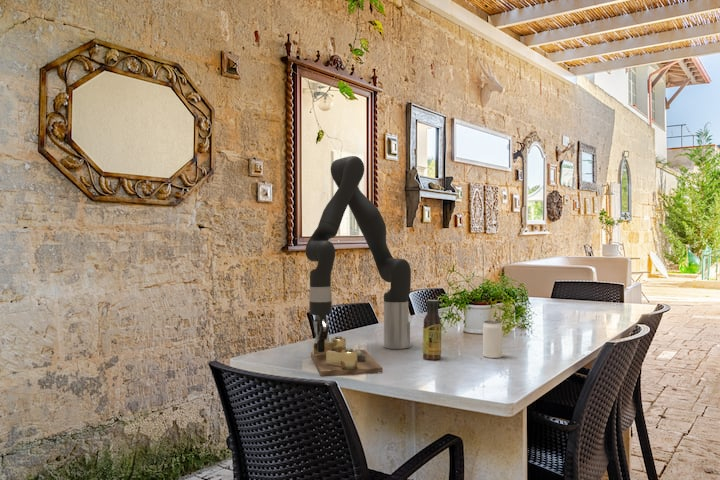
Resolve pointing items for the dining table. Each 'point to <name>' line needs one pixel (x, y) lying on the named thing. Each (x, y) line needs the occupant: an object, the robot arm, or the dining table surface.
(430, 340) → the sauce bottle
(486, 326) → the can
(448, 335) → the dining table surface
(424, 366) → the dining table surface
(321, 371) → the levelling plate
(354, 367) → the dial
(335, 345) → the dial
